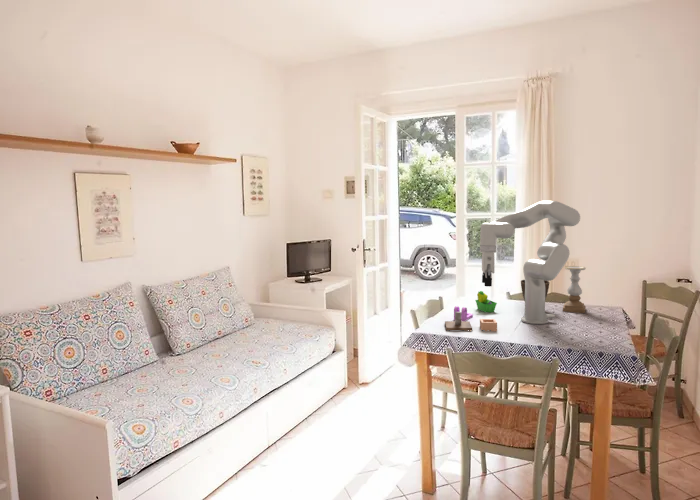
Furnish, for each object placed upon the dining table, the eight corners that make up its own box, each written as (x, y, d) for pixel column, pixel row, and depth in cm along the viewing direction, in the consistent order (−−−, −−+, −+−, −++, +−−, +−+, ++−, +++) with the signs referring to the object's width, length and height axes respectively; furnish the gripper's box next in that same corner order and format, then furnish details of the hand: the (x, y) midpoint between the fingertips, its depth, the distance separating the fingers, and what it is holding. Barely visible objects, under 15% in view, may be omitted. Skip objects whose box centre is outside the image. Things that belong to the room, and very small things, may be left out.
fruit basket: (497, 312, 267) (497, 291, 266) (482, 313, 265) (483, 293, 264) (486, 307, 278) (486, 288, 277) (472, 309, 276) (472, 289, 275)
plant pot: (553, 312, 263) (554, 283, 261) (525, 313, 263) (525, 284, 262) (542, 306, 278) (543, 278, 276) (516, 307, 278) (516, 279, 276)
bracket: (463, 321, 250) (464, 308, 249) (453, 320, 253) (453, 307, 253) (474, 316, 260) (474, 303, 259) (464, 315, 264) (464, 302, 263)
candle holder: (585, 308, 270) (586, 266, 268) (584, 313, 261) (586, 269, 258) (564, 307, 275) (565, 265, 273) (562, 311, 266) (563, 268, 263)
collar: (494, 327, 238) (494, 319, 238) (497, 331, 231) (497, 322, 231) (479, 326, 239) (479, 318, 238) (481, 330, 232) (481, 322, 231)
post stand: (469, 324, 244) (469, 309, 243) (472, 331, 232) (472, 315, 231) (444, 324, 245) (444, 309, 244) (446, 330, 233) (446, 315, 233)
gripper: (499, 251, 224) (497, 287, 225) (493, 247, 241) (492, 281, 242) (482, 250, 225) (480, 287, 227) (477, 247, 242) (476, 281, 244)
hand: (486, 284), depth 235 cm, fingers open, 9 cm apart
